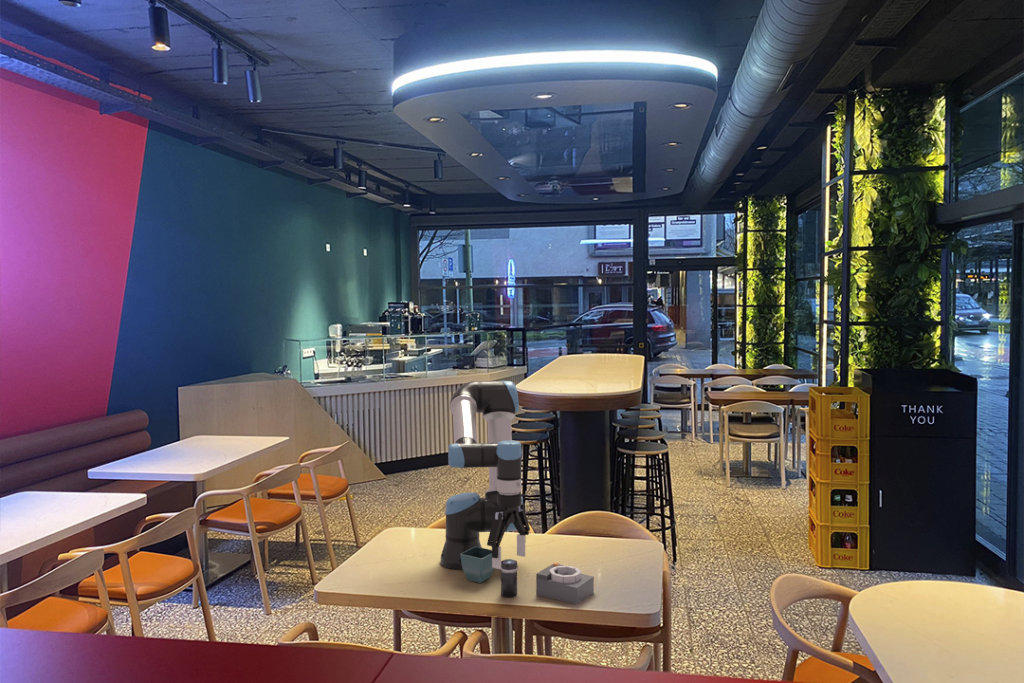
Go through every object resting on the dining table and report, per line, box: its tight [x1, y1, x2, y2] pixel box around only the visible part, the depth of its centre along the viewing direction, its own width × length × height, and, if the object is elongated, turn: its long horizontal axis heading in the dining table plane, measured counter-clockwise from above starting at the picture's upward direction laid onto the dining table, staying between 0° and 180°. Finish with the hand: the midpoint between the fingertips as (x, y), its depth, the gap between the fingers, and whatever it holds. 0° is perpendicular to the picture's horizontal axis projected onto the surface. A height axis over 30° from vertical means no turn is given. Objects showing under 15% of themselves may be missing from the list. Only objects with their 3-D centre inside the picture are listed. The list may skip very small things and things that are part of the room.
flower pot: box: [460, 546, 495, 583], centre depth 230 cm, size 9×9×9 cm
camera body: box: [535, 562, 595, 606], centre depth 218 cm, size 14×11×7 cm
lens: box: [500, 558, 519, 599], centre depth 217 cm, size 5×5×10 cm
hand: (509, 561), depth 217 cm, fingers open, 13 cm apart
